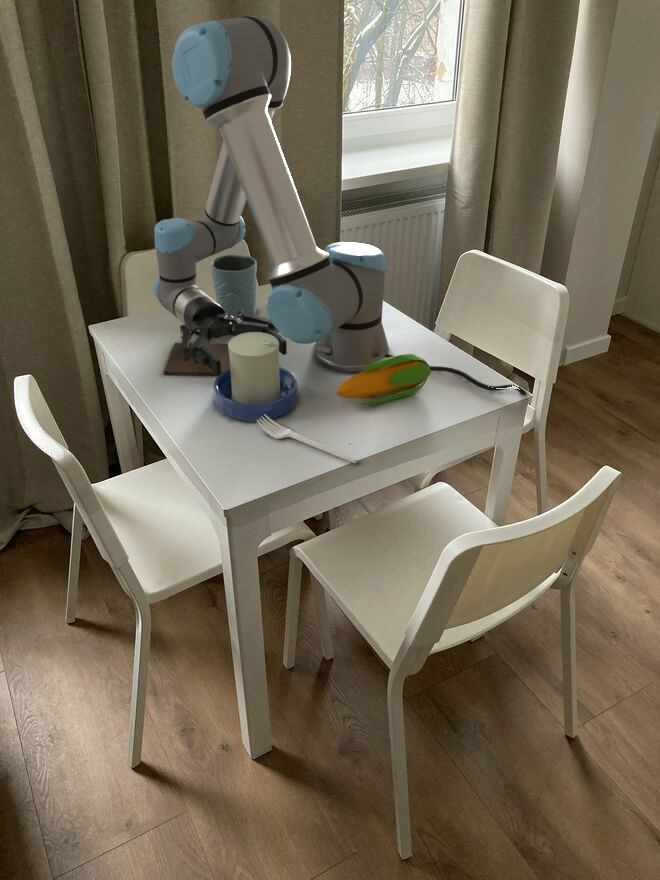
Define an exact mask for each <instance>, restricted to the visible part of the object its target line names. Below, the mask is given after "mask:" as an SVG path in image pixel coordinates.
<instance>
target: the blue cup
mask: <svg viewBox="0 0 660 880" xmlns="http://www.w3.org/2000/svg"><path fill="white" fill-rule="evenodd" d="M257 261H258V260H257V259H255V258H254V257H253V256H250V255H247V254H234V253H233V254H225V255H221V256H218V257H215V258H214V259H212V260H211V262H210V269H211V276H212V281H213V286H214V291H215V298H216V303H218V304H219V305H220V306H221V307H222V308H223V309H224V311H225V313H226V314H228V315H231V316H235V315H238V311H239V310H243V311H245V312H247V313H248V314H252V315H256V313H257V294H256V293H257V292H256V291H257V269H258V268H257V267H258V265H257V264H258V262H257Z"/></svg>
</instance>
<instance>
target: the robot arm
mask: <svg viewBox="0 0 660 880" xmlns="http://www.w3.org/2000/svg"><path fill="white" fill-rule="evenodd" d="M291 59H292V56H291V52H290V47H289V44H288V42H287V40H286V38H285V36H284V34H283V32H282V31H281V30H280V29H279V28H278V27H277V26H276V25H275V24H274V23H273V22H271V21H270V20H269V19H266V18H264V17H261V16H256V15H246V16H241V17H233V18H226V19H225V18H224V19H217V20H216V19H215V20H212V19H211V20H206V21H203V22H201V23H196V24H193V25H191V26H190V25H189V26H188V27H187V28H185V29H184V30H183V31H182V32H181V34H180V35H179V36H178V38H177V40H176V41H175V45H174V52H173V53H172V59H171V60H172V61H171V66H172V67H171V68H172V76H173V79H174V83H175V86H176V88H177V90H178V92H179V95H181V97H182V98H183V99H184V100H185V101H188V103H189V104H190V105H191V106H194V107H196V108H200V109H201V111H202V113H203V116H204V117H203V118H204V119H205V121H206V123H207V124H209V125H211V126H213V127H215V128H216V129H218V130H219V133H220V136H221V138H222V140H223V141H222V145H221V148H220V152H219V156H218V159H217V162H216V165H215V166H216V167H215V169H214V173H213V178H212V182H211V186H210V189H209V192H208V197H207V200H206V204H205V208H204V211H203V215H202V217H201V218H200V219H198V220H196V221H193V222H190V221H189V220H187V219H185V218H180V217H172V218H168V219H167V218H166V219H162V220H160V221H159V222H157V223H156V224H155V225H154V248H155V253H156V259H157V265H158V266H157V267H158V275H159V277H157V279H156V281H155V284H154V287H153V288H154V289H153V290H154V291H153V292H154V295H155V297H156V299H157V301H158V302H159V303H160V304H161V306H162V307H163V308H164V309H165V310H167V311H168V312H170V313H171V314H172V315H173V316H174V317H175V318H176V319H178V320H179V321H180V322H181V323H183V324H182V325H180V326H179V331H180V338H181V343H182V354H183V360H184V361H188V360H190V358H194V363H196V364H198V363H201V364H202V365H207V366H208V367H210V368H211V369H212V370H213V371H214V372H215V373H216V374H217V375H219V374H221V364H220V360H219V359H218V358H217V357H216V356H215V355H214V354H212V353H211V352H210V351H209V350H208V349H207V348H206V346H207V344H209V343H211V341H212V340H213V339H215V340H216V339H219V338H222V337H227V336H232V337H235V336H237V335H240V334H243V333H249V332H261V333H266V334H270V335H272V336H274V337H275V338H277V340H278V341H279V354H281V355H282V356H284V355H287V353H288V352H287V349H288V347H287V340H286V339H285V338H288V339H289V340H290V341H291V342H293V343H297V344H301V345H309V344H313V343H314V345H313V349H314V358H315V359H316V361H317V362H318V363H319V364H320V365H322V366H323V367H324V368H327V369H330V370H332V371H336V372H340V373H347V374H351V373H352V374H358V373H360V372H362V371H365V369H364V367H365V366H366V365H368V364H370V363H372V362H374V361H377V360H380V359H383V358H387V357H393V356H394V355H392V354H390V347H389V342H388V339H387V335H386V332H385V329H384V328H385V327H384V325H383V321H382V320H383V305H384V291H385V276H386V271H387V269H386V255H385V254H384V252H383V251H382V250H380V249H379V248H377V247H375V246H373V245H370V244H365V243H359V242H351V241H350V242H349V241H345V242H344V241H341V242H334V243H330V244H328V245H326V247H325V249H324V250H322V249H320V248H319V247H318V246H317V243H316V241H315V238H314V236H313V233H312V230H311V227H310V224H309V221H308V219H307V216H306V214H305V211H304V208H303V205H302V203H301V200H300V198H299V194H298V192H297V189H296V186H295V184H294V181H293V178H292V176H291V175H292V174H291V172H290V170H289V167H288V165H287V162H286V159H285V157H284V154H283V151H282V149H281V146H280V143H279V140H278V138H277V135H276V132H275V130H274V126H273V124H272V120H273V117H274V114H275V111H276V110H279V109H280V108H282V106H283V105H284V101H285V98H286V95H287V92H288V89H289V84H290V80H291V79H290V78H291V74H292V73H291V70H292V60H291ZM246 202H247V203H248V206H249V207H248V208H249V209H250V212H251V214H252V217H253V220H254V222H255V224H256V228H257V230H258V233H259V235H260V237H261V240H262V242H263V245H264V249H265V250H266V252H267V256H268V258H269V261H270V264H271V268H270V271H269V273H268V276H267V278H268V281H269V283H270V284H269V285H270V286H271V292H270V293H269V295H268V298H267V301H268V302H267V303H266V310H267V315H268V317H269V318H266V317H262V316H259V315H256V314H255V315H252V314H248V313H247V312H245V311H243V310H239V311H238V315H235V316H231V315H228V314H226V313H225V311H224V309H223V308H222V307H221V306H220V305H219V304H218V303H217V301H215V300H214V299H212V298H211V297H210V296H209V295H208V294H207V293H205V292H204V291H202V289H200V288H199V286H198V278H197V275H198V274H197V263H199V262H201V261H203V260H205V259H207V258H209V257H211V256H215V255H217V254H219V253H221V252H223V251H225V250H229V249H231V248H233V247H234V246H236V245H237V244H239V243H240V242H242V240H243V239H244V238H245V236H246V228H245V227H246V224H245V221H244V218H243V217H242V214H243V211H244V209H245V205H246ZM233 329H234V330H233ZM194 335H195V336H197V338H196V339H195V341H194V342H193V343H194V345H193V347H192V348H190V343H191V340H192V339H193V338H192V337H193V336H194ZM282 336H283V337H284V338H283V337H282ZM429 366H430V372H445V373H451V374H455V375H458V376H460V377H462V378H464V379H466V380H467V381H469V382H470V383H471V384H473V385H475V386H477V387H478V388H481V389H483V390H487V391H492V392H493V391H494V392H496V391H497V392H499V391H505V390H507V389H496V388H507V387H510V386H511V387H512V385H513V386H515V385H516V384H501V385H489V384H486V383H483V382H481V381H479V380H477V379H476V378H474V377H472V376H471V375H470V374H468V373H466V372H464V371H463V370H459V369H457V368H453V367H449V366H439V365H429ZM488 386H489V387H488ZM517 386H518V385H517ZM517 386H516V387H517ZM492 387H493V388H492ZM518 388H519V389H520V390H519V389H513V390H515V391H517V392H518V393H520V394H521V395H523V396H525V395H527V394H528V393H527V391H526V390H525V389H524V390H523V388H522V387H521V386H519V387H518ZM521 388H522V389H521Z"/></svg>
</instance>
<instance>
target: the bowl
mask: <svg viewBox="0 0 660 880" xmlns="http://www.w3.org/2000/svg"><path fill="white" fill-rule="evenodd" d="M279 381H280V394H281V399H278V400H275V401H272V402H268V403H261V404H245V403H240V402H235V401H232V399H231V398H232V385H231V371H230V368H229V369H227V370H226V371H224V372H222V373H221V374H220V375H219V376H216V378H215V379H214V383H213V394H214V403H215V405H216V408H217V409H218V410H219V411H220V412H221V413H222V414H223V415H225V416H227V417H230V418H232V419H236V420H240V421H246V422H257V420H258V421H259V422H261V421H260V420H259V418H260V419H261V420H262V421H264V420H263V419H262V417H264V418H265V419H266V420H267V421H269V420H268V419H267V418H266V417H265V416H264V414H265V415H266V416H268V417H269V418H270V419H272V420H273V419H276V418H279V417H281V416H284V415H286V414H287V413H289V412H290V411H291V410H293V408H294V407H295V405H296V404H297V402H298V379H296V376H295V375H294V373H292V372H291V371H290V370H288V369H287V368H285V367H282V366H280V365H279ZM261 416H262V417H261Z"/></svg>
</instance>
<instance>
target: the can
mask: <svg viewBox="0 0 660 880" xmlns="http://www.w3.org/2000/svg"><path fill="white" fill-rule="evenodd" d="M227 344H228V348H229V358H230V371H231V385H232V398H231V399H232V401H235V402H240V403H245V404H261V403H268V402H272V401H275V400H278V399H281V394H280V381H279V366H280V352H279V341H278V340H277V338H275V337H274V336H272V335H270V334H266V333H261V332H249V333H243V334H240V335H237V336H232V338H231V339H229V341H228V343H227Z"/></svg>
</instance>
